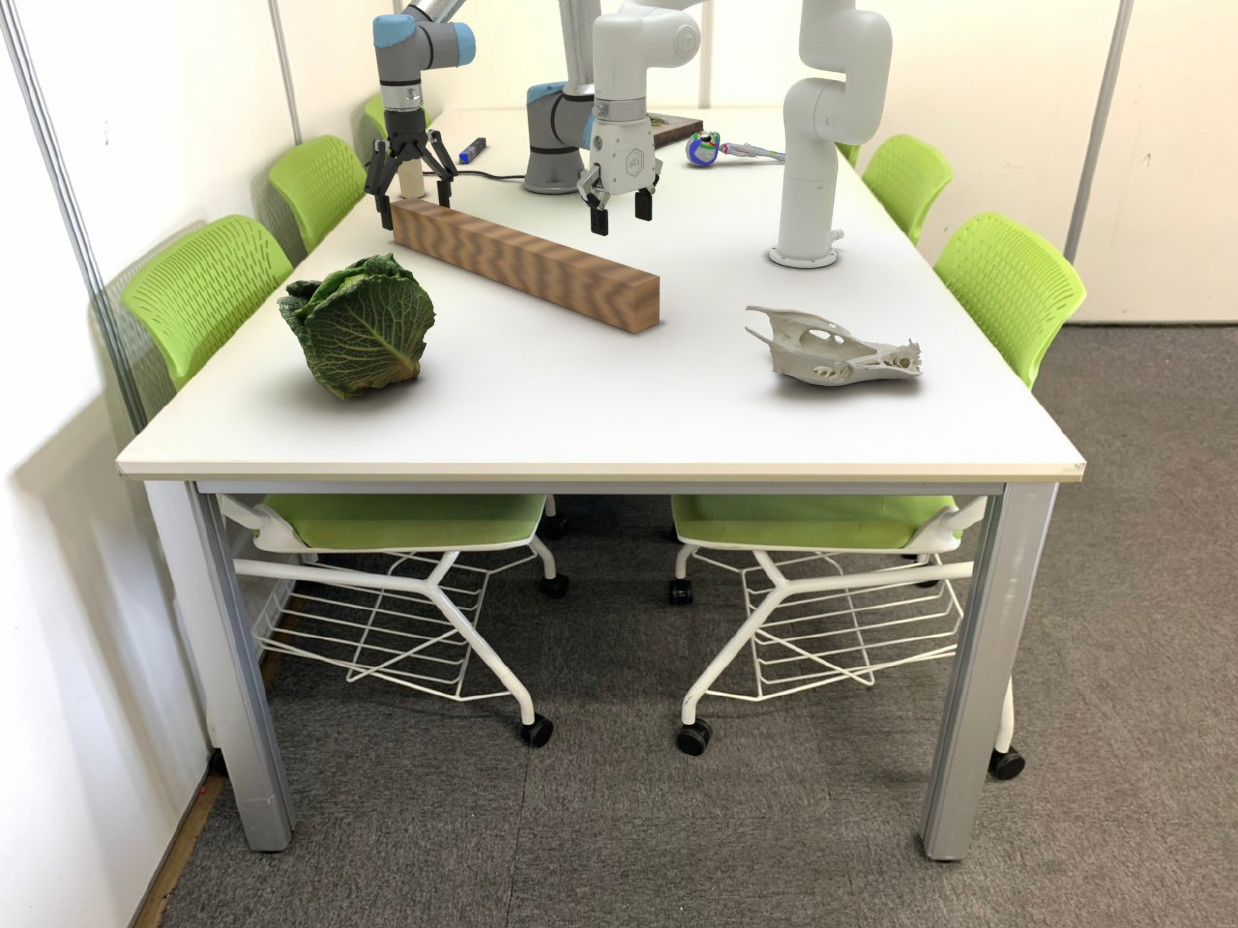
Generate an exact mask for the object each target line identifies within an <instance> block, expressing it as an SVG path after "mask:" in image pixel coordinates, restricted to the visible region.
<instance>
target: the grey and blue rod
mask: <svg viewBox="0 0 1238 928" xmlns="http://www.w3.org/2000/svg"><path fill="white" fill-rule="evenodd" d="M486 147H487V138H486V137H480V136H479V137H477V138H476V139H475V140H474V141H472V142H471V143H470V144H469V145H468V146H467V147H465V149H463V150H462V151H461V152H460V153H459V154H458V159H459V164H469V163H470V162H471V161H472V160H473V159H474V158H475V157H476V156H477V155H478V154H479V153H480V152H482V151H483V150H484V149H485V148H486Z"/></svg>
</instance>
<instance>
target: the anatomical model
mask: <svg viewBox="0 0 1238 928" xmlns="http://www.w3.org/2000/svg"><path fill="white" fill-rule="evenodd" d="M745 311H755V312H761V313H764V314H765V315H766V316H768V318H769V319H768V320H769V323H770V326H771V329H772V334H773V335H772V336H773V337H772V340H770V339H768V338H767V337H765V336H763V335H762V334H760V333H758V332H757V331H755V330H754V329H752V328H750V327H749V326H746V325H745V326H744V330H746V332H748V333H749V334H751V335H752V336H754V337H756V338H757V339H759V340H760V341H761V342H763V343H765V344H766V345H768V347H769V352H770V356H771V359H772V372H774V373H778V374H784V375H787V376H791V377H793V378H795V379H798V380H799V381H802V382H805V383H807V384H810V385H811V384H812V385H816V386H817V385H818V386H824V387H838V386H844V385H850V384H853V383H858V382H863V381H864V382H865V381H872V380H880V379H881V380H882V379H888V380H889V379H890V380H901V379H902V380H904V379H905V380H907V379H913V378H916V377H920V376H922V375H924V372H923V371H920V370H921V369H920V368H921V367H920V366H922V365H923V360H922V359H920V358H921V355H920V354H921V353H922V350H921V347H920V344H919V342H913V341H912V338H911V337H910V338H909V339H908V342H909V344H908V345H904V344H902V345H900V346H897V345H893V344H890V343H880V342H872V341H865V340H861V339H859V338H857V337H855V336H853V335H852V334H851V332H850V331H849V330H848V329H846V328H845V327H844V326H842V325H840V324H838V323H836V322H834V321H832V320H829V319H827V318H825V317H822V316H819V315H817V314H813V313H809V312H807V311H806V312H805V311H802V310H798V309H794V308H791V309H790V308H789V309H787V308H771V307H765V306H761V305H755V304H753V305H752V304H749V305H746V307H745ZM830 324H831V325H833V326H835V327H833V326H831V325H830ZM810 331H820V332H823V333H826V334H828V335H829V336H828V337H827V338H824V337H823V338H822V337H820V336H817V335H815V334H813V333H812V332H810ZM836 336H837V337H839V338H841V339H842V340H843V341H842V342H841V341H839V340H837V339H836Z"/></svg>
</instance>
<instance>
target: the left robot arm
mask: <svg viewBox="0 0 1238 928" xmlns="http://www.w3.org/2000/svg"><path fill="white" fill-rule="evenodd" d="M466 1H467V0H411V1H410V2H409V3H408V5H407V6H405V8H404V9H403V10H402V11H401V12H400V14H399V13H396V14H382V15H377V16H375V17H374V18H373V20H372V36H373V38H372V39H373V42H372V43H373V47H374V52H375V60H376V66H377V74H378V79H379V88H380V98H381V106H382V107H383V108H385V109H384V110H383V118H384V126H385V127H384V128H385V130H386V135H387V138H386V139H384V140H380V139H373V140H372V155H371V160H369V161H367V162H366V163H365V164H364V167H365V168H367V167H368V166H369V167H368V170H367V173H366V174H367V175H366V179H365V182H364V186H363V192H364V193H365V194H368V195H371V196H373V197H374V203H375V210H376V212H377V213H379V214H380V219H381V226H382V229H384V230H387V231H389V232H393V230H394V228H393V221H392V214H391V206H390V203H391V200H390V195H387V192H388V189H389V187H390V186H391V184H392V181H393V180H394V178H395V175H396V173H397V172H398V167H399V166H400V165H402V163H403V161H406V162H407V161H410V160H412V159H416V160H417V159H420V158H421V161H423V162H424V163H425V164H426V165H427V167H429V169H431V171H422V172H423V176H424V175H427V176H429V175H431V176H432V175H433V176H434V175H436V176H437V177H438V178H439V179H438V180H436V190H437V199H438V205H440V206H443V207H447V208H450V209H451V202H450V198H452V195H453V193H452V192H453V191H452V184H451V183H453V182H454V180H455V177H456V178H457V177H458V176H459V175H462V174H463V175H465V174H466V175H467V174H472V175H481V176H484V177H487V178H490V179H494V180H511V179H512V180H515V179H524V180H523V183H524V188H525V189H526V190H527V191H530V192H531V193H535V194H536V193H537V194H543V195H544V194H545V195H562V194H570V193H576V192H579V190H578V187H577V182H578V181H579V180H580V179H581V178H582V177H583V176H584V175H585V174H586V173H587V172H588V168H585V164H584V161H583V158H582V156H581V153H580V149H582V150H586V151H588V152H590V142H591V133H592V126H593V122H595V116H593V114H592V108H593V107H595V105H594V69H593V23H594V21H595V19H596V18H597V17H599V16H601V15H603V13H602V5H601V0H557V1H558V9H559V19H560V24H561V33H562V40H563V48H564V49H563V50H564V58H565V65H566V74H567V80H565V81H564V80H563V81H553V82H546V83H539V84H535V85H531V86H529V87H528V89H527V91H526V103H525V107H526V113H527V114H526V115H527V127H528V140H529V141H528V142H529V157H528V162H527V168H526V172H525V174H523V175H522V174H521V175H520V174H518V175H517V174H516V175H495V174H490V173H488V172H485V171H482V170H481V171H480V170H458V169H457V167H456V165H455V163H454V161H453V158H451V156H450V154H449V152H448V150H447V148H446V146H445V145H444V142H443V139H442V133H441V132H440V131H439V130H436V129H432V128H429V129H428V130H427V132H426V129H427V120H426V112H425V109H424V108H423V107H422V106H424V103H425V102H424V96H423V85H422V75H421V74H422V73H421V72H423V71H429V70H430V71H431V70H438V69H439V70H440V69H449V68H456V69H457V68H460V67H463V66H467V65H470V64H472V63H473V61H474V59H475V58H476V54H477V43H476V42H477V41H476V37H475V35H474V31H473V30H472V28H471V27H470V26H469V25H468V24H467V23H465V22H463V21H462V22H461V21H460V22H459V21H458V22H457V21H456V22H454V21H451V19H453V17H454V16H455V15H456V13H457V12H458V11H459V10H460V9H461V8H462V6H463V5H464V4H465V3H466ZM428 142H429V143H430V145H431V147H432V149H433V151H434V153H435V154H436V156H437V158H438V160H437V159H436V158H435V157H434V156H433V153H432V152H430V150H429V149H428V148H427V145H428ZM389 150H390V151H389ZM388 151H389V152H388ZM387 152H388V155H387ZM386 156H387V157H386ZM385 160H386V162H385ZM439 162H440V163H439Z"/></svg>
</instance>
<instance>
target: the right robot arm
mask: <svg viewBox="0 0 1238 928" xmlns="http://www.w3.org/2000/svg"><path fill="white" fill-rule="evenodd" d="M708 1H710V0H624V2H623V3H622V5H620V7H619V8H618V10H617V12H615V13H605V14H602V15H601V16H599V17H597V18H596V19H595V21H594V23H593V69H594V105H595V107H593V108H592V114H593V116H595V122H593V126H592V133H591V142H590V151H589V160H588V161H589V163H588V164H589V167H588V169H589V170H587V173H586V174H585V175H584V176H583V177H582V178H581V179H580V180H579V181H578V182H577V187H578V190H579V191H578V192H579V195H580V198H581V200H582V201H583V202H584V203H585V204H586V207H587V208H589V212H590V213H589V214H590V215H589V216H590V232H591V233H592V234H594V235H598V236H601V237H607V236H608V235H609V209H608V208H606V206H607V204H608V202H609V200H610V198H611V196H615V197H617V196H620V195H621V196H622V195H624V194H625V195H626V194H628V193H632V192H634V191H635V192H634V218H636V219H638V220H641V221H645V222H652V220H653V195H654V194H655V193H656V187H657V185H658V183H659V181H660V175H661V172H662V169H663V166H664V161H662V160H661V159H659V158H657V157H656V151H655V150H656V149H654V138H653V131H652V125H651V121H650V117H648V116H646V115H647V112H648V110H647V107H648V105H647V100H648V97H647V93H648V92H647V91H648V88H647V85H648V84H647V82H648V81H647V78H648V77H647V75H648V74H647V70H649V69H650V68H658V69H659V68H663V69H675V68H680V67H683V66H685V65H687V64H688V63H690V62H691V61H692V60H693V59H694V58H695V57H696V55H697V54H698V51H699V49H700V46H701V44H702V33H701V29H700V26H699V24H698V22H697V21H696V20H695V18H694V17H693V16H692V15H690V14H689V13H687V12H685V10H686V9H688V8H690V7H692V6H696V5H698V4H702V3H705V2H708ZM801 3H802V5H801V14H800V15H801V16H800V25H799V36H798V56H799V59H800V61H801V62H802V63H803V65H804V66H807V67H808V68H811V69H814V70H818V71H824V72H830V73H831V72H832V73H837V74H844V75H845V81H842V80H838V79H831V78H824V77H816V76H815V77H805V78H802V79H800V80H798V81H796V82H794V84H792V85H791V86H790V87H789V89H788V91H787V93H786V94H785V97H784V100H783V105H782V118H783V119H782V120H783V127H784V138H785V161H784V166H783V176H782V177H783V180H782V189H781V190H782V191H781V193H782V194H781V201H780V202H781V203H780V216H779V226H778V227H779V228H778V239H777V243H776V244H774V245H771V247H770V248H769V250H768V257H769V258H770V259H771V261H773V262H774V263H777V264H780V265H781V266H785V267H791V268H799V269H813V268H821V267H826V266H829V265H832V264H833V263H834V262H836V260H837V257H838V256H837V255H838V254H837V251H836V249H835V248H833V247H832V245H833V243H835V242H836V241H838V240H841V239H843V238H844V237H845V231H844V230H843V229H842V228H837V229H834V230H832V227H833V226H832V225H833V216H834V209H835V208H834V207H835V200H836V190H837V181H838V173H839V154H838V150H837V147H836V144H835V143H839V144H844V145H850V146H861V145H864V144H867V143H868V142H870V141H871V140H872V139H873V138H874V136H875V135H876V133H877V132H878V131H879V128H880V125H881V121H882V117H883V113H884V108H885V103H886V95H887V89H888V82H889V76H890V71H891V69H890V68H891V62H892V56H893V43H894V41H893V39H894V38H893V33H892V28H891V25H890V23H889V21H888V19H887V18H886V17H885V16H884V15H883V14H881V13H879V12H876V11H871V10H863V9H856V8H857V7H856V0H802V2H801ZM600 194H601V195H600ZM599 196H600V197H599Z"/></svg>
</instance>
